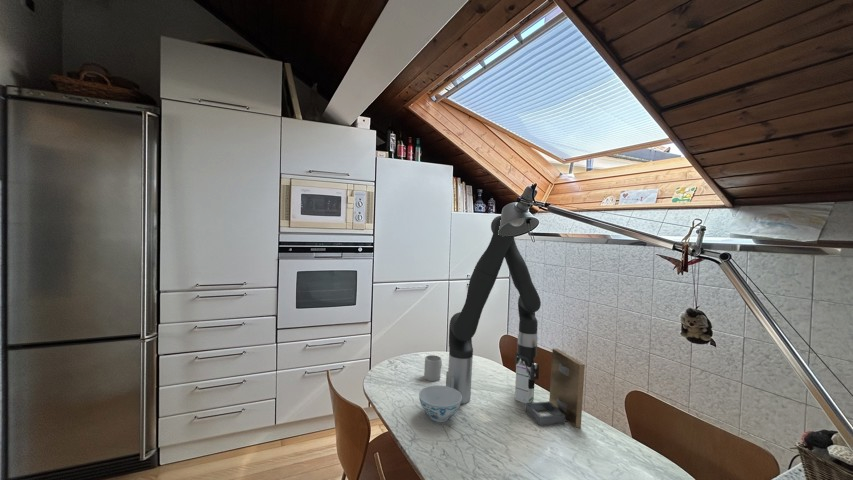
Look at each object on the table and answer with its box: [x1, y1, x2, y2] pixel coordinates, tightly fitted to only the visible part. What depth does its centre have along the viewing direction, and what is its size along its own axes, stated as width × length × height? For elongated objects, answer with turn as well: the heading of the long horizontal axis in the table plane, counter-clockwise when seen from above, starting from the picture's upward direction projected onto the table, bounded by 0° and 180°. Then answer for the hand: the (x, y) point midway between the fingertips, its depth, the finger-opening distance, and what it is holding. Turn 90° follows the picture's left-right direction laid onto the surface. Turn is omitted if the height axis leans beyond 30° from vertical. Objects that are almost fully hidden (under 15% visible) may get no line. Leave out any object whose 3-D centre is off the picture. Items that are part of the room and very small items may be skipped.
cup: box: [423, 354, 443, 382], centre depth 152 cm, size 7×10×9 cm
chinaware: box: [418, 385, 462, 423], centre depth 119 cm, size 15×15×8 cm
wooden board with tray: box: [524, 348, 586, 429], centre depth 123 cm, size 14×16×22 cm
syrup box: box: [514, 361, 535, 405], centre depth 135 cm, size 6×6×14 cm
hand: (525, 383), depth 135 cm, fingers open, 8 cm apart
